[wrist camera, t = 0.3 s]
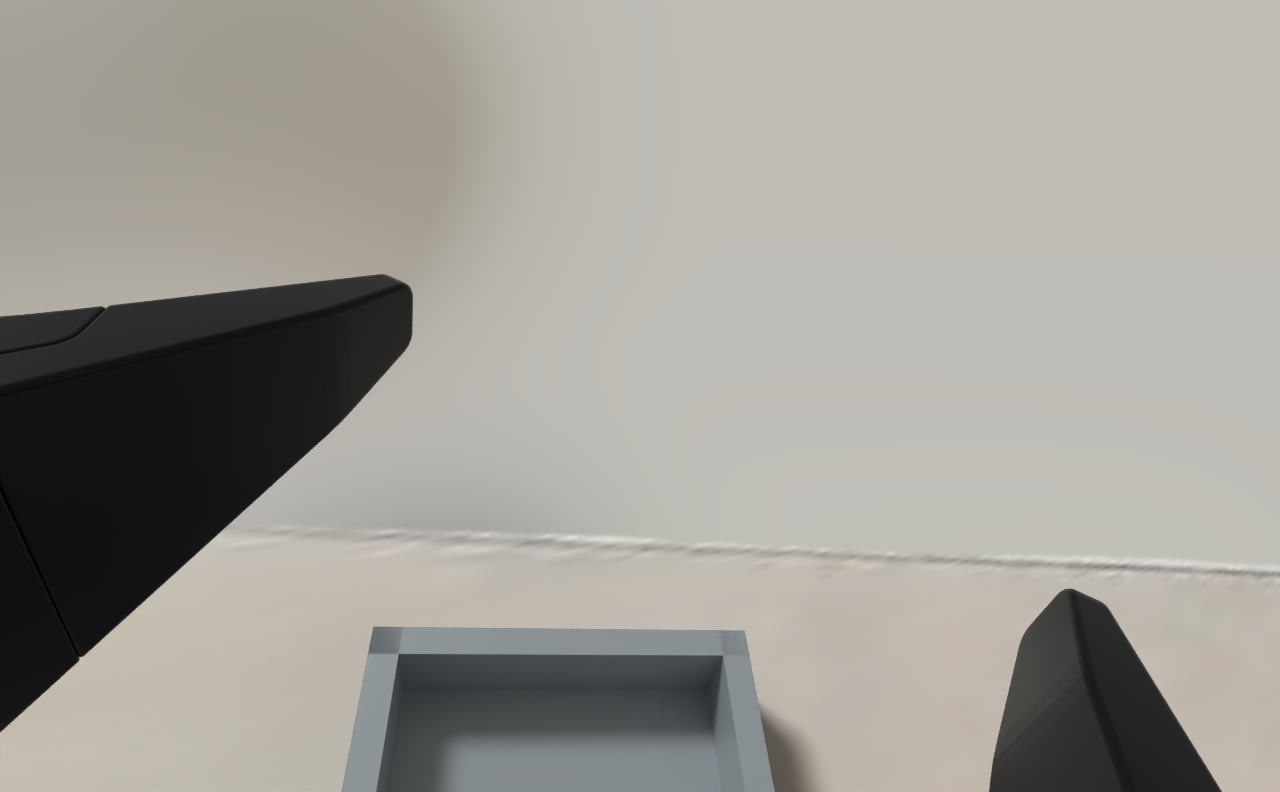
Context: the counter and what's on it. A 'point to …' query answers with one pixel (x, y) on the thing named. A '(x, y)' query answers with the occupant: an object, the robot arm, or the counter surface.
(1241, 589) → the counter surface
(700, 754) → the grey tray
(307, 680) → the counter surface
